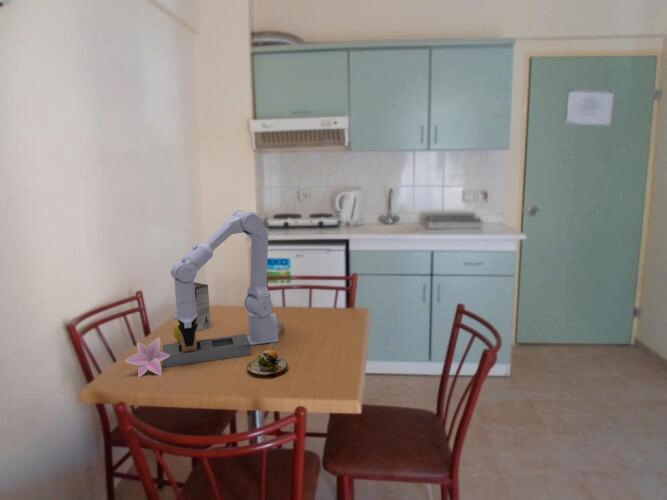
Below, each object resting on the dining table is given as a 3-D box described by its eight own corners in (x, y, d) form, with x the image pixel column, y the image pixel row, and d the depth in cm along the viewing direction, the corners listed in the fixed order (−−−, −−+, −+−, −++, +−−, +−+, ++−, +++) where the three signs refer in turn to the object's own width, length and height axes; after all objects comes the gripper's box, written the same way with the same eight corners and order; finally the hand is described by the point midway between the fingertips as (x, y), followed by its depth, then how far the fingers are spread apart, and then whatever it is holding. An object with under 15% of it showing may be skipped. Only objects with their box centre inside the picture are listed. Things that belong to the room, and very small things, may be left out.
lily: (122, 377, 142) (120, 357, 137) (143, 351, 151) (142, 331, 146) (157, 390, 141) (156, 370, 136) (176, 362, 150) (176, 343, 144)
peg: (196, 347, 155) (195, 326, 154) (197, 352, 151) (195, 330, 150) (182, 349, 154) (180, 328, 153) (182, 354, 150) (180, 332, 149)
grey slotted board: (246, 344, 163) (245, 334, 162) (250, 355, 154) (250, 344, 153) (163, 355, 155) (162, 344, 155) (163, 367, 146) (162, 356, 145)
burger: (242, 367, 145) (241, 343, 144) (280, 359, 150) (279, 336, 149) (253, 383, 135) (251, 357, 133) (293, 374, 139) (292, 349, 138)
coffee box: (181, 327, 182) (177, 285, 179) (194, 322, 187) (191, 281, 184) (198, 331, 177) (195, 288, 174) (211, 326, 182) (208, 284, 179)
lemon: (186, 346, 162) (184, 323, 161) (171, 345, 163) (169, 322, 162) (194, 340, 168) (192, 318, 166) (179, 339, 169) (177, 317, 167)
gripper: (172, 296, 155) (175, 337, 158) (171, 308, 142) (175, 353, 144) (195, 293, 157) (198, 334, 160) (197, 306, 144) (200, 350, 146)
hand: (189, 343), depth 152 cm, fingers closed on peg, 4 cm apart
